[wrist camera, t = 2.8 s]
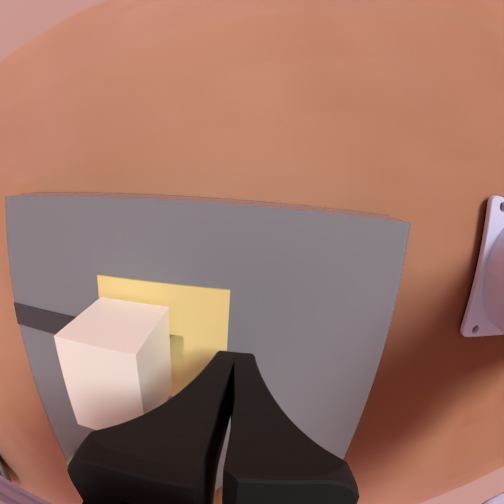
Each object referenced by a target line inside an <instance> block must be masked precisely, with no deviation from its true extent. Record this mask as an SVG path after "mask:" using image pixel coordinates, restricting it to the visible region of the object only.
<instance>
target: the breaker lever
mask: <svg viewBox="0 0 504 504" xmlns="http://www.w3.org/2000/svg"><path fill="white" fill-rule="evenodd" d="M54 339H55V344H56V348H57V353H58V357H59V361H60V365H61V369H62V373H63V377H64V381H65V384H66V388H67V391H68V395H69V398H70V401H71V405H72V408H73V411H74V414H75V417H76V420H77V423H78V424H79V425H82V426H85V427H88V428H91V429H94V430H100V429H104V428H107V427H111V426H115V425H118V424H121V423H124V422H127V421H129V420H132V419H134V418H137V417H139V416H141V415H144V414H146V413H148V412H149V411H151V410H153V409H155V408H157V407H158V406H160V405H162V404H163V403H165V402H166V401H167V400H168V397H169V395H170V392H171V390H172V374H171V356H170V330H169V307H167V306H159V305H152V304H145V303H138V302H131V301H124V300H117V299H111V298H105V297H101V298H99V299H98V300H97V301H96V302H94V303H93V304H92V305H91V306H89V307H88V308H87V309H86V310H84V311H83V312H82V313H81V314H80V315H78V316H77V317H76V318H75V319H74V320H72V321H71V322H70V323H69V324H67V325H66V326H65V327H64V328H63V329H62V330H60V331H59V332H58V333H57V334H56V335H54Z"/></svg>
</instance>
